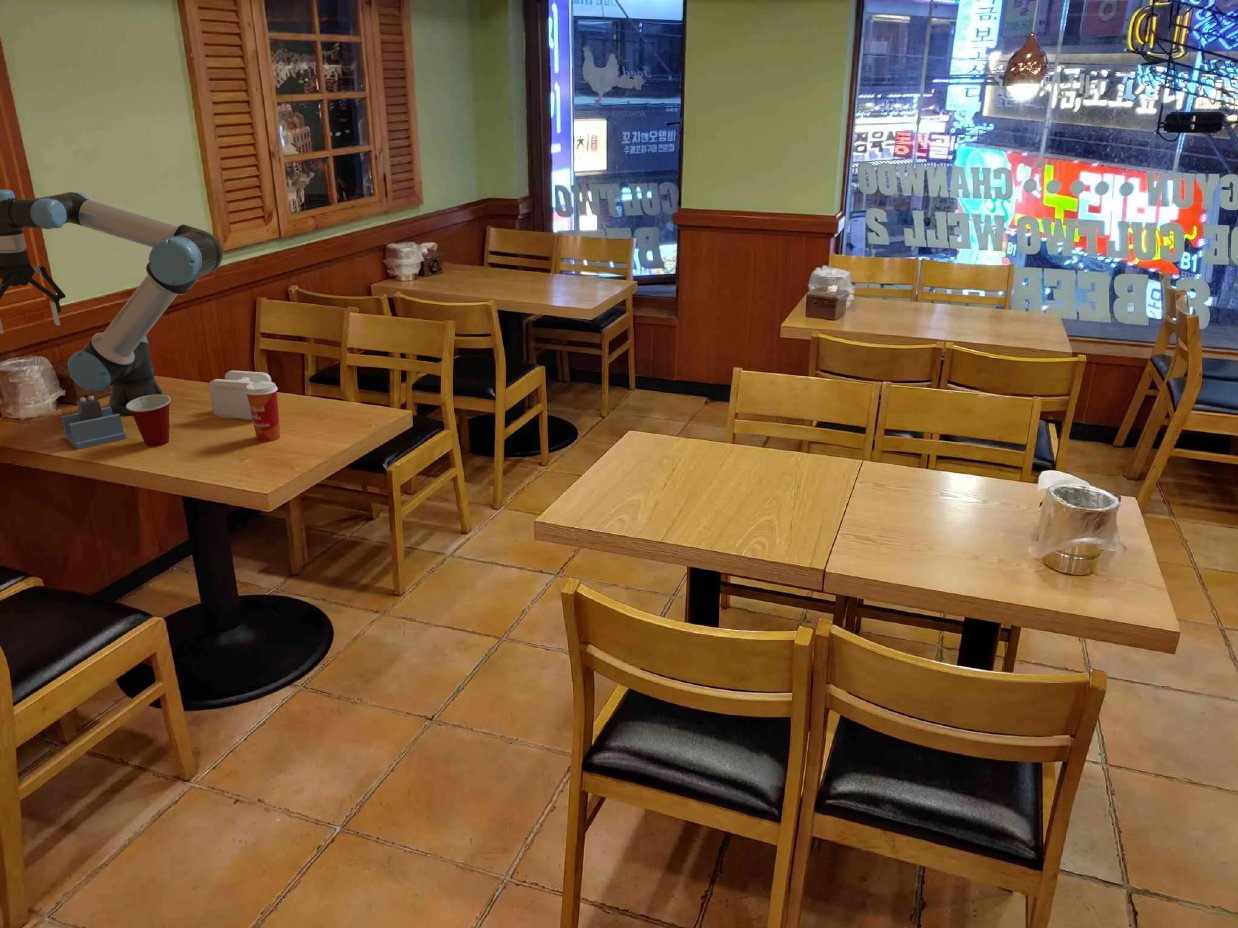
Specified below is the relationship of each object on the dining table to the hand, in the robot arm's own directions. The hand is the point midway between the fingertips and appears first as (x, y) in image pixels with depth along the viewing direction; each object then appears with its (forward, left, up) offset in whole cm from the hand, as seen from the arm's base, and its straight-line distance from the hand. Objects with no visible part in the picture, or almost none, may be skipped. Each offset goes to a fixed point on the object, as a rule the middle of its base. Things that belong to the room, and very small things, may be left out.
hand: (29, 328), depth 253 cm
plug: (-5, +24, -25) cm, 35 cm away
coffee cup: (-40, +55, -27) cm, 73 cm away
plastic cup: (-16, +39, -27) cm, 50 cm away
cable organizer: (-43, +32, -27) cm, 60 cm away
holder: (-5, +24, -27) cm, 36 cm away
